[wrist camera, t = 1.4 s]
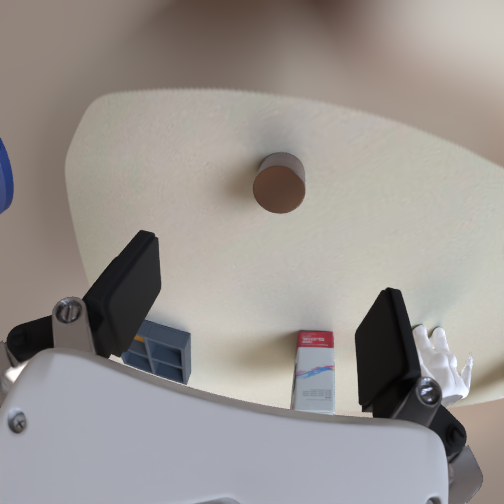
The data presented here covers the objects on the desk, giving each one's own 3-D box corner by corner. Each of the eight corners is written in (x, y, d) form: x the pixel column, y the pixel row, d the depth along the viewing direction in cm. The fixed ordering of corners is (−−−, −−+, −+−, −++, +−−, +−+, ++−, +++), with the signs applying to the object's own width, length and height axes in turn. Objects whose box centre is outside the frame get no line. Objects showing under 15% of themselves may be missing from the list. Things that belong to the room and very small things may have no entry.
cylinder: (250, 171, 24) (241, 187, 21) (283, 142, 22) (280, 155, 19) (280, 201, 26) (276, 223, 22) (313, 176, 24) (316, 194, 20)
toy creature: (383, 341, 35) (393, 417, 25) (403, 313, 31) (422, 395, 22) (443, 347, 34) (458, 412, 25) (464, 322, 31) (487, 390, 21)
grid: (129, 351, 48) (123, 363, 46) (117, 310, 40) (108, 323, 38) (191, 371, 48) (186, 385, 45) (190, 333, 40) (184, 349, 38)
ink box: (298, 329, 36) (292, 410, 26) (334, 331, 35) (336, 412, 25) (293, 363, 40) (286, 432, 31) (324, 364, 40) (322, 433, 30)
